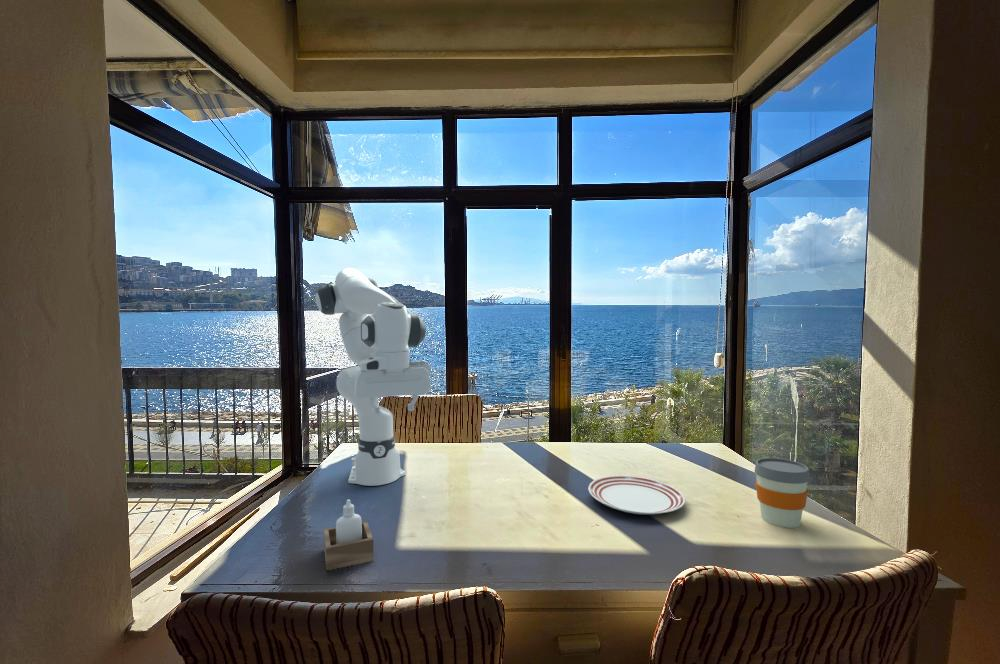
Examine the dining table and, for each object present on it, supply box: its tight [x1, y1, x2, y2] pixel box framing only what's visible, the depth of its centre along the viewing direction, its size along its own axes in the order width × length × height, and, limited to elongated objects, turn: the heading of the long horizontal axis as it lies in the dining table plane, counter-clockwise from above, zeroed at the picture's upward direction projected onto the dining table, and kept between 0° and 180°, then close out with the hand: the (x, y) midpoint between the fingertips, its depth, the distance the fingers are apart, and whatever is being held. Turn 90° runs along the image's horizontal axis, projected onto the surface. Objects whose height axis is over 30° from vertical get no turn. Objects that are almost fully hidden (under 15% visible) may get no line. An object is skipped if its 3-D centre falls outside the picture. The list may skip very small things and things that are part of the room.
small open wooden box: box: [323, 520, 375, 571], centre depth 107 cm, size 10×10×5 cm
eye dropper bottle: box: [335, 499, 363, 544], centre depth 107 cm, size 4×6×12 cm
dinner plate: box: [587, 474, 686, 516], centre depth 137 cm, size 27×27×3 cm
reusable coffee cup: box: [754, 457, 810, 529], centre depth 124 cm, size 13×13×15 cm
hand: (393, 412), depth 126 cm, fingers open, 8 cm apart
